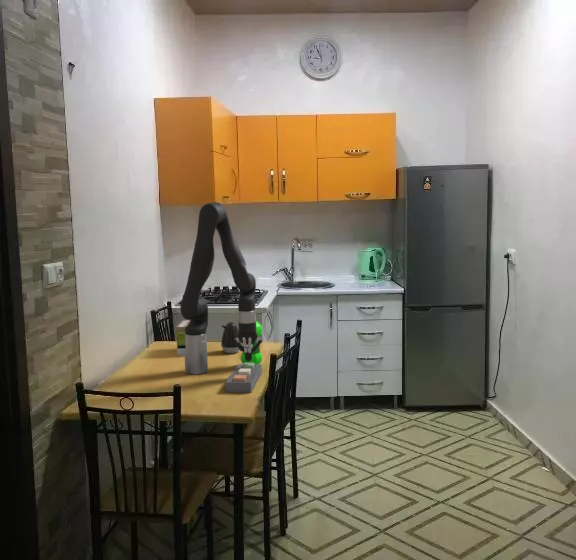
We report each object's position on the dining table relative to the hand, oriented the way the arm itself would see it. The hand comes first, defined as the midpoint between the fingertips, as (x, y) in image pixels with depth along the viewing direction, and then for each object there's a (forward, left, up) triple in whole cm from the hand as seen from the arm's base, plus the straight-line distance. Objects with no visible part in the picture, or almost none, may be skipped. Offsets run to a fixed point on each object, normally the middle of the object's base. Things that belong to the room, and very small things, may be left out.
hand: (248, 360), depth 257 cm
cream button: (0, -9, -5) cm, 10 cm away
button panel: (0, -9, -7) cm, 11 cm away
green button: (0, 0, -5) cm, 5 cm away
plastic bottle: (-2, +15, -7) cm, 17 cm away
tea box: (-37, +39, -7) cm, 54 cm away
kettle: (-16, +39, -7) cm, 43 cm away
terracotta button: (0, -18, -5) cm, 18 cm away
